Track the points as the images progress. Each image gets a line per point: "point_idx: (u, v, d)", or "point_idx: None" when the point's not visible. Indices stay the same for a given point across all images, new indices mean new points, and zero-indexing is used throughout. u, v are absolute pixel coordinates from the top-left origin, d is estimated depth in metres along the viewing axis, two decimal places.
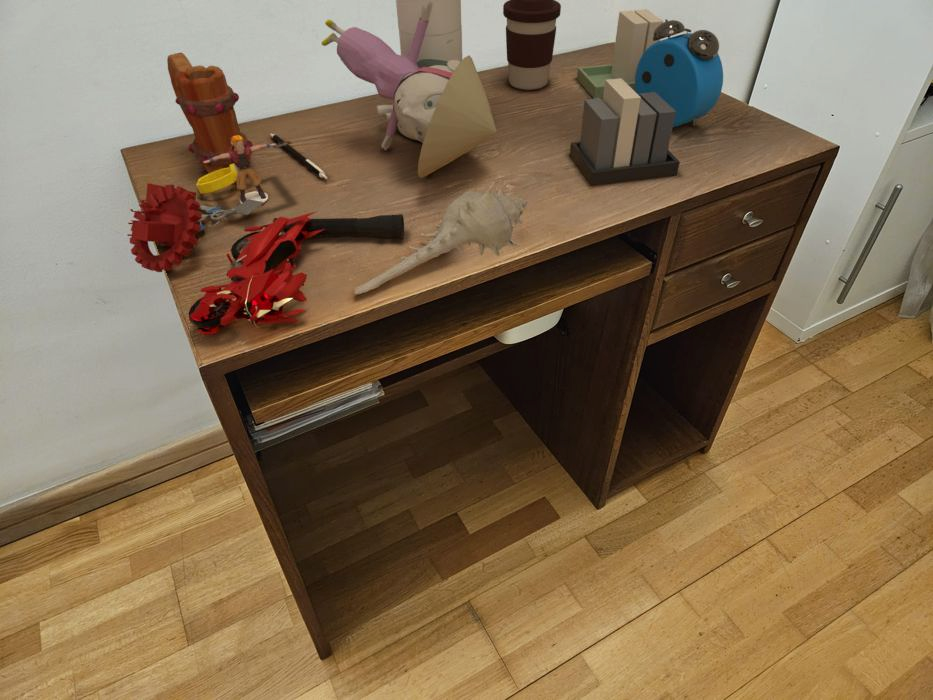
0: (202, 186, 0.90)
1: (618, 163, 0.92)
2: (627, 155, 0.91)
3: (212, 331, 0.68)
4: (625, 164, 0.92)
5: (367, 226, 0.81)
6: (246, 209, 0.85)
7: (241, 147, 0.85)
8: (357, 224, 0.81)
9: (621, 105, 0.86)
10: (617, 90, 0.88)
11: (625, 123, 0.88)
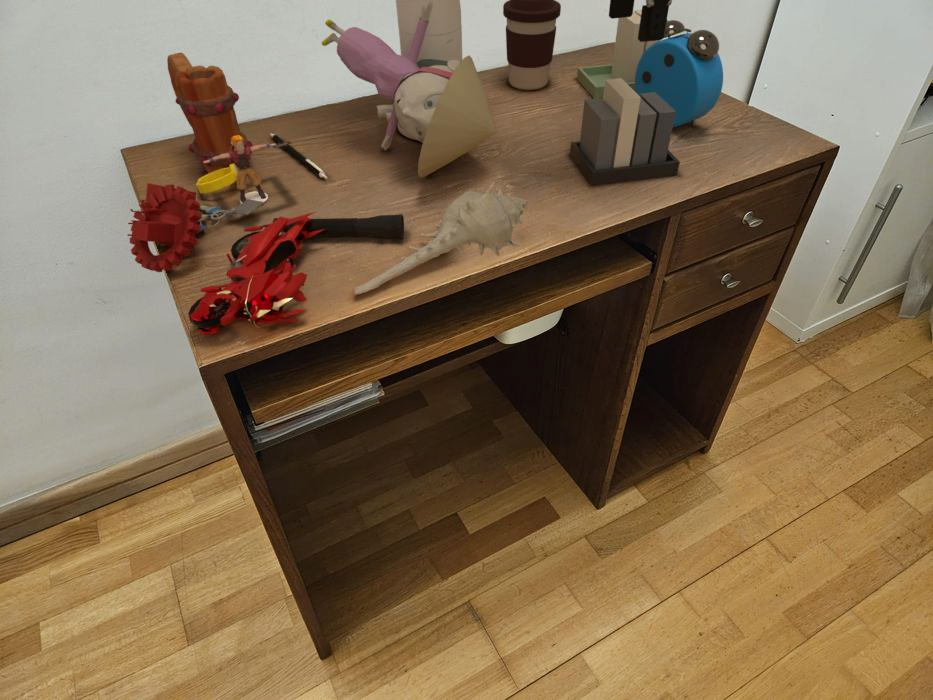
0: (201, 186, 0.90)
1: (618, 163, 0.92)
2: (627, 155, 0.91)
3: (212, 331, 0.68)
4: (625, 164, 0.92)
5: (367, 226, 0.81)
6: (246, 209, 0.85)
7: (241, 147, 0.85)
8: (357, 224, 0.81)
9: (621, 105, 0.86)
10: (617, 90, 0.88)
11: (625, 123, 0.88)
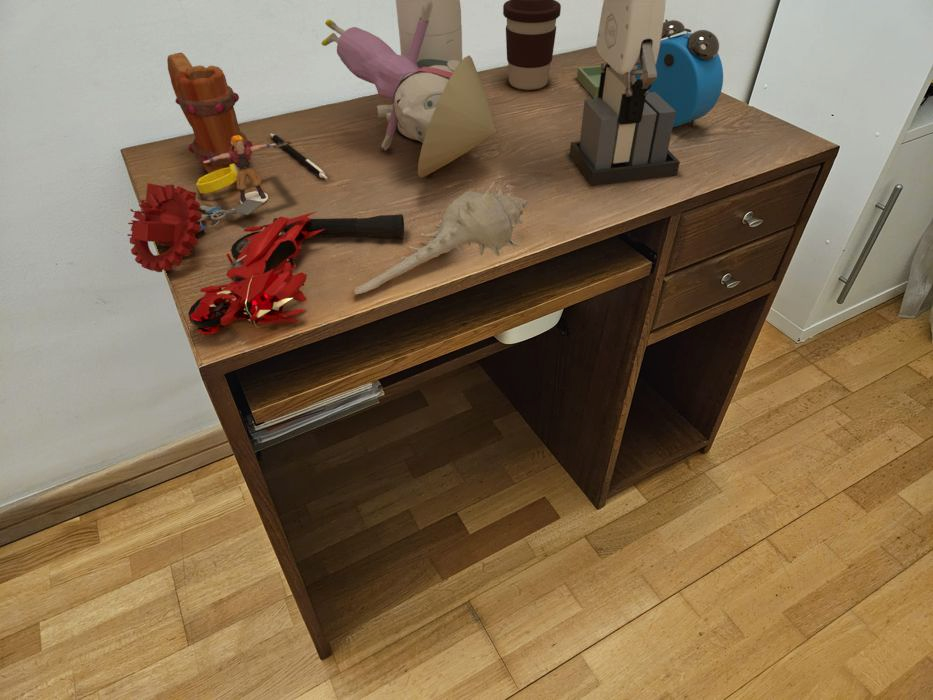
0: (201, 186, 0.90)
1: (619, 152, 0.91)
2: (628, 144, 0.90)
3: (212, 331, 0.68)
4: (626, 153, 0.91)
5: (367, 226, 0.81)
6: (246, 209, 0.85)
7: (241, 147, 0.85)
8: (357, 224, 0.81)
9: (623, 93, 0.85)
10: (619, 77, 0.86)
11: None
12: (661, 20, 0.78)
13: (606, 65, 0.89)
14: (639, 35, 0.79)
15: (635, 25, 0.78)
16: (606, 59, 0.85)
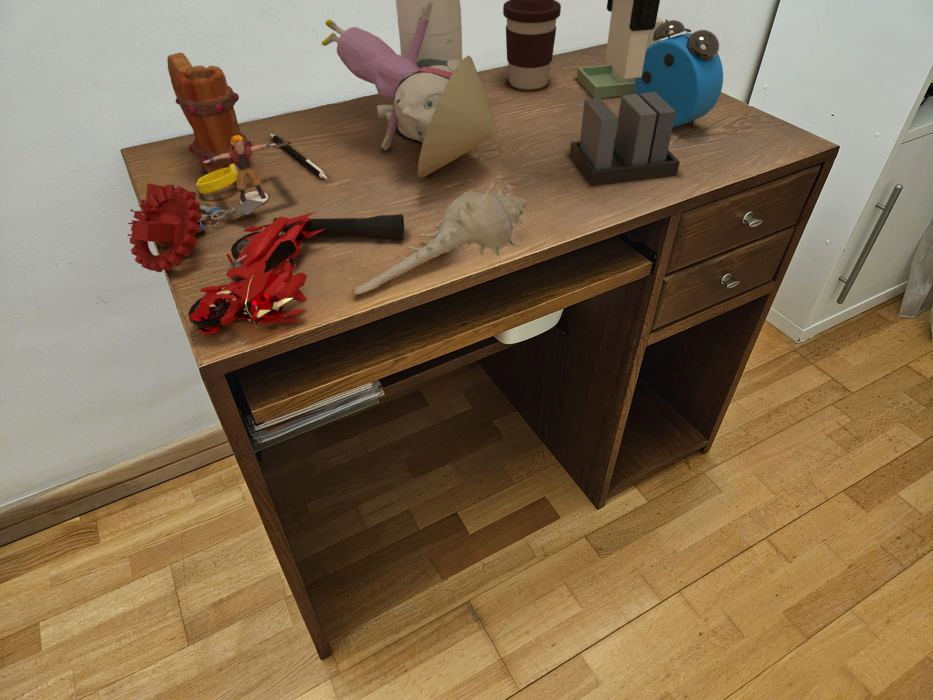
0: (201, 186, 0.90)
1: (630, 65, 0.83)
2: (641, 56, 0.82)
3: (212, 331, 0.68)
4: (638, 67, 0.83)
5: (367, 226, 0.81)
6: (246, 209, 0.85)
7: (241, 147, 0.85)
8: (357, 224, 0.81)
9: None
10: None
11: None
12: None
13: None
14: None
15: None
16: None
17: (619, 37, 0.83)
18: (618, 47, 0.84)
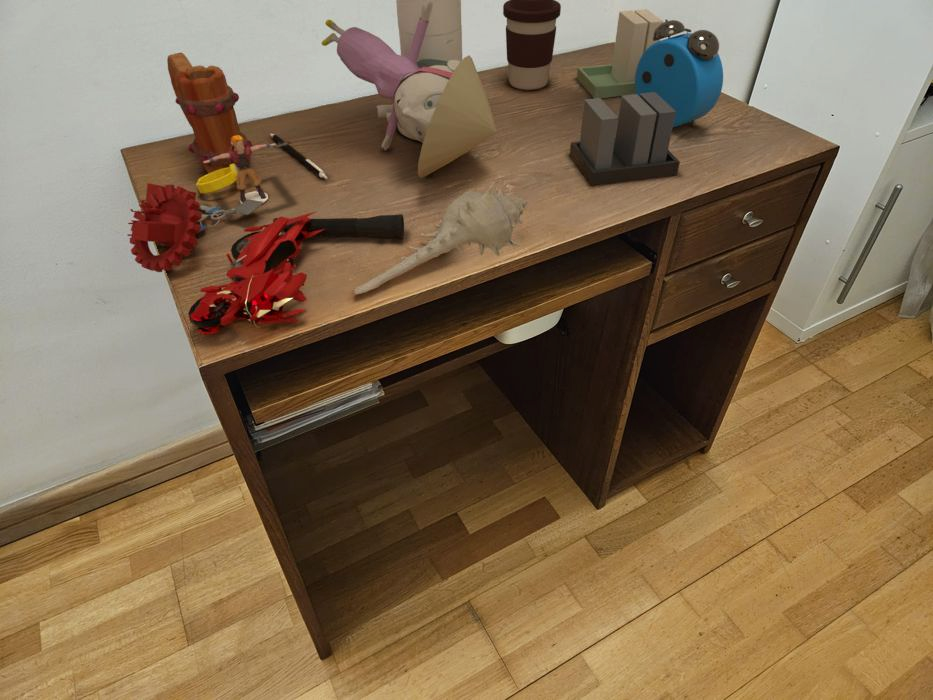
0: (201, 186, 0.90)
1: None
2: None
3: (212, 331, 0.68)
4: None
5: (367, 226, 0.81)
6: (246, 209, 0.85)
7: (241, 147, 0.85)
8: (357, 224, 0.81)
9: None
10: None
11: None
12: None
13: None
14: None
15: None
16: None
17: None
18: None
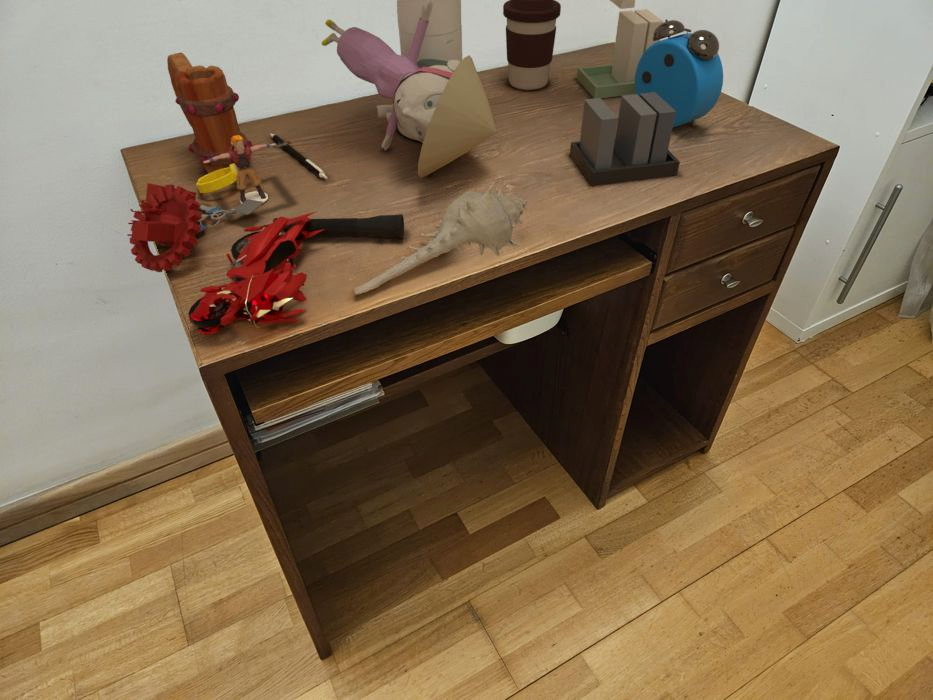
0: (201, 186, 0.90)
1: None
2: None
3: (212, 331, 0.68)
4: None
5: (367, 226, 0.81)
6: (246, 209, 0.85)
7: (241, 147, 0.85)
8: (357, 224, 0.81)
9: None
10: None
11: None
12: None
13: None
14: None
15: None
16: None
17: None
18: None
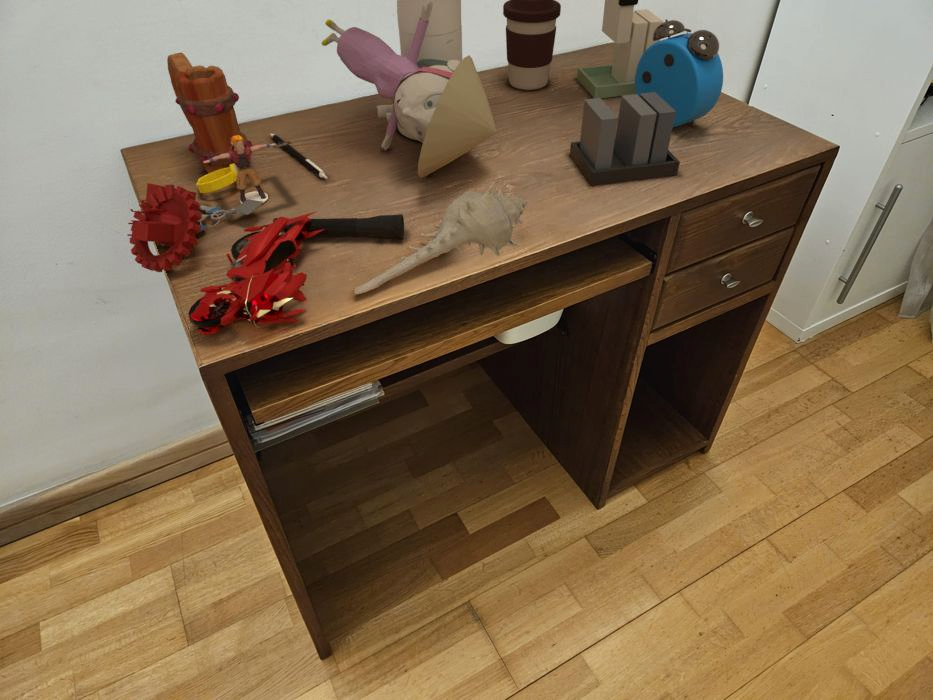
0: (201, 186, 0.90)
1: (620, 33, 1.09)
2: (628, 25, 1.08)
3: (212, 331, 0.68)
4: (627, 34, 1.09)
5: (367, 226, 0.81)
6: (246, 209, 0.85)
7: (241, 147, 0.85)
8: (357, 224, 0.81)
9: None
10: None
11: None
12: None
13: None
14: None
15: None
16: None
17: (611, 11, 1.09)
18: (611, 19, 1.10)
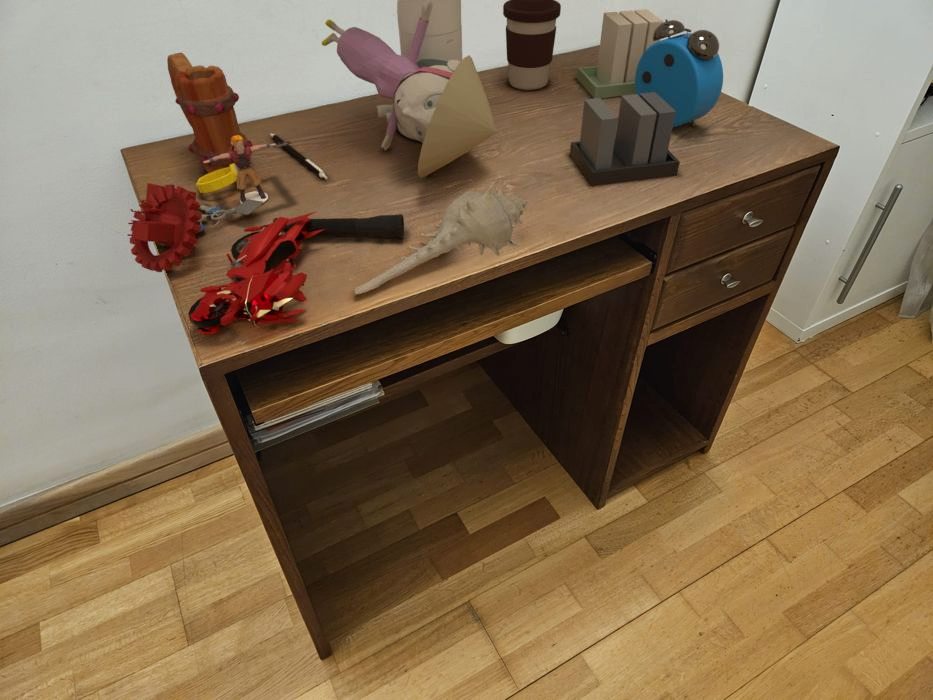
0: (201, 186, 0.90)
1: (614, 80, 1.14)
2: (621, 74, 1.14)
3: (212, 331, 0.68)
4: (620, 82, 1.14)
5: (367, 226, 0.81)
6: (246, 209, 0.85)
7: (241, 147, 0.85)
8: (357, 224, 0.81)
9: (616, 31, 1.09)
10: (613, 19, 1.10)
11: (620, 46, 1.10)
12: None
13: None
14: None
15: None
16: None
17: (605, 60, 1.15)
18: (605, 67, 1.15)
